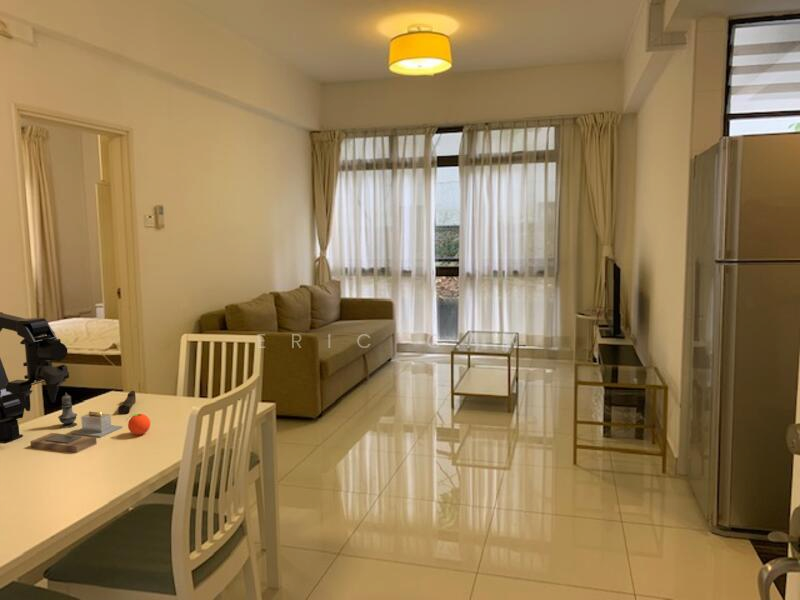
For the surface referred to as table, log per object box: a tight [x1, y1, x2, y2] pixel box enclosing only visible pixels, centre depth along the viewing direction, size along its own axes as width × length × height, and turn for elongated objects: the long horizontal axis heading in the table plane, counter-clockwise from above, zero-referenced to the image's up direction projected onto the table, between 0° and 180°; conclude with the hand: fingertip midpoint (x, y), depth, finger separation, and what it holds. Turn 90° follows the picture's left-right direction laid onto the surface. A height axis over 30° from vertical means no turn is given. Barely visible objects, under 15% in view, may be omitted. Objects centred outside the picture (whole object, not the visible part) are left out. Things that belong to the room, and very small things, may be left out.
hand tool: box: [117, 390, 137, 415], centre depth 230 cm, size 19×4×5 cm, turn 11°
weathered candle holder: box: [58, 392, 78, 429], centre depth 208 cm, size 6×6×12 cm
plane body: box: [30, 432, 97, 454], centre depth 190 cm, size 18×8×2 cm, turn 75°
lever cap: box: [80, 411, 112, 433], centre depth 203 cm, size 8×4×6 cm, turn 75°
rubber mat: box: [70, 424, 123, 438], centre depth 203 cm, size 12×10×1 cm
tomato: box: [125, 413, 151, 436], centre depth 200 cm, size 8×7×7 cm
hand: (40, 406), depth 188 cm, fingers open, 9 cm apart
